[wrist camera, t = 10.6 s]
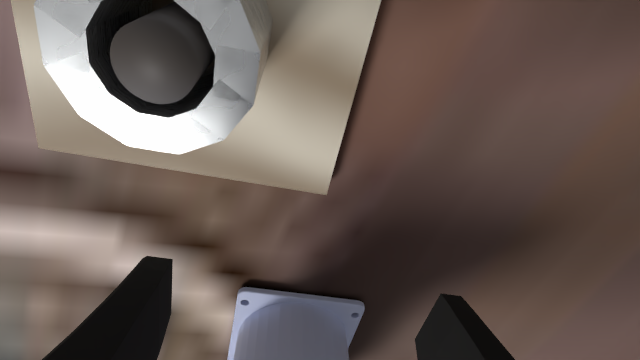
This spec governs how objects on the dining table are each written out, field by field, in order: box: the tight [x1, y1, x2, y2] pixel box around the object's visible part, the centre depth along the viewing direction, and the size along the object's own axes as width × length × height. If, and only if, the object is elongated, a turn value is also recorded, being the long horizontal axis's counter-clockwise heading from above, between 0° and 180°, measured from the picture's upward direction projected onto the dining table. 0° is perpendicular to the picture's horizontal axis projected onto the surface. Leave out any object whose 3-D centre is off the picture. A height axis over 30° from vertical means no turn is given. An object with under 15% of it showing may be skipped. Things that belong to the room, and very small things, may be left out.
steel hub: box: [34, 0, 273, 154], centre depth 12 cm, size 6×6×5 cm
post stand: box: [11, 0, 381, 195], centre depth 13 cm, size 13×13×6 cm
